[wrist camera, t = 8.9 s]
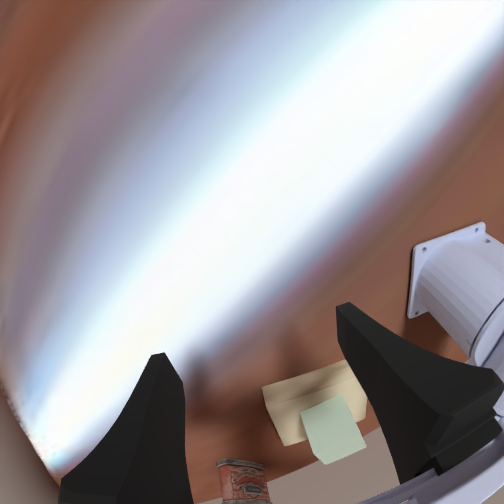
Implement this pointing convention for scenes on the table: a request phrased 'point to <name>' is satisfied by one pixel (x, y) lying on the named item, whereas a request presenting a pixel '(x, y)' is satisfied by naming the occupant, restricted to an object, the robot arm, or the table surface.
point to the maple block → (311, 398)
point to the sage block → (332, 430)
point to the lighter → (242, 482)
